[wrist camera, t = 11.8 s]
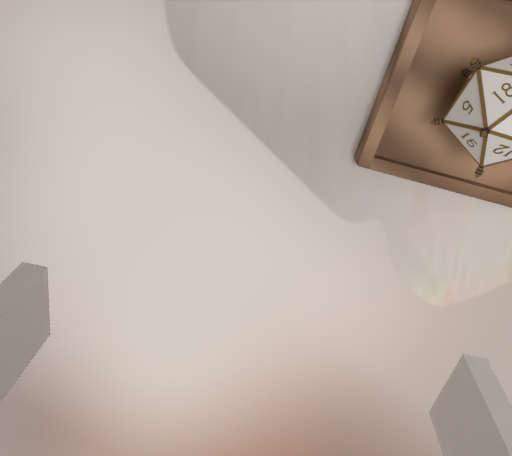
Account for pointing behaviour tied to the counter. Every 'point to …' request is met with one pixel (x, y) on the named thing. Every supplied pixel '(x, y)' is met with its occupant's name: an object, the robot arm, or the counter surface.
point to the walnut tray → (437, 97)
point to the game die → (483, 113)
